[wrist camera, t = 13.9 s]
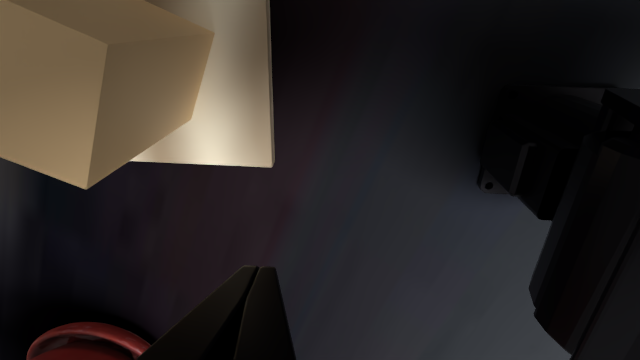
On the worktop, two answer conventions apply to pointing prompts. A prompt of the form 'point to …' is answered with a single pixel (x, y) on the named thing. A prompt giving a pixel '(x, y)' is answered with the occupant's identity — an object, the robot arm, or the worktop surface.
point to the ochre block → (94, 82)
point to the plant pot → (87, 343)
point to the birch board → (226, 89)
